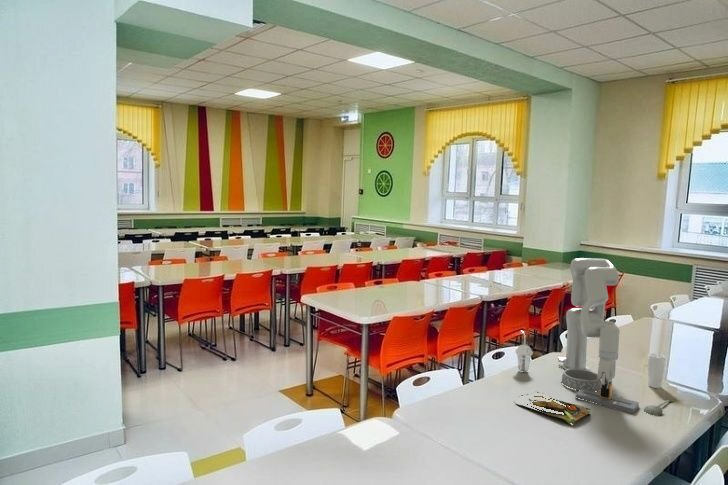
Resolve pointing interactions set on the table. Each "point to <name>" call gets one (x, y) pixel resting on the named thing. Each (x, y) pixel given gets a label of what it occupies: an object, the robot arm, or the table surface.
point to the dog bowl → (581, 379)
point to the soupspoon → (655, 409)
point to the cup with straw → (524, 356)
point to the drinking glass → (655, 370)
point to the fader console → (608, 401)
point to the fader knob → (609, 391)
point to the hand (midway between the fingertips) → (605, 395)
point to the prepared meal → (563, 410)
